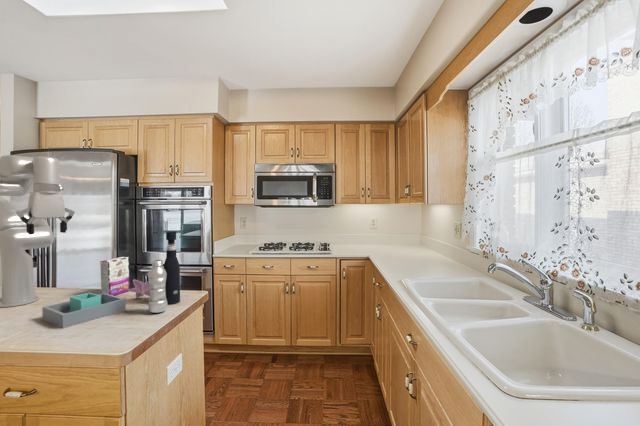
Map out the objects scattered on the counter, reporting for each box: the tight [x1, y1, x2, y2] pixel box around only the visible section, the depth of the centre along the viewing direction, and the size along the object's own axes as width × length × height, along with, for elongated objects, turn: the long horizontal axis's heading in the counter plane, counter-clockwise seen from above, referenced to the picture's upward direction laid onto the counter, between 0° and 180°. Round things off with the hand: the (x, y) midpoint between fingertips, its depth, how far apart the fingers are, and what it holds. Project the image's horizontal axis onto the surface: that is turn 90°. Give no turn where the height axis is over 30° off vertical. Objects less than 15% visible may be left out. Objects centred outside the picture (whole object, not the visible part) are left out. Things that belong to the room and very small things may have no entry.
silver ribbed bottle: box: [147, 259, 168, 314], centre depth 116 cm, size 6×7×20 cm
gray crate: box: [42, 293, 127, 329], centre depth 113 cm, size 16×20×4 cm
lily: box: [127, 278, 150, 303], centre depth 131 cm, size 12×12×10 cm
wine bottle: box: [162, 231, 181, 306], centre depth 128 cm, size 6×6×30 cm
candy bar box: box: [99, 256, 131, 296], centre depth 140 cm, size 11×5×16 cm, turn 168°
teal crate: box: [69, 292, 101, 312], centre depth 113 cm, size 8×6×6 cm
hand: (47, 233), depth 116 cm, fingers open, 9 cm apart
